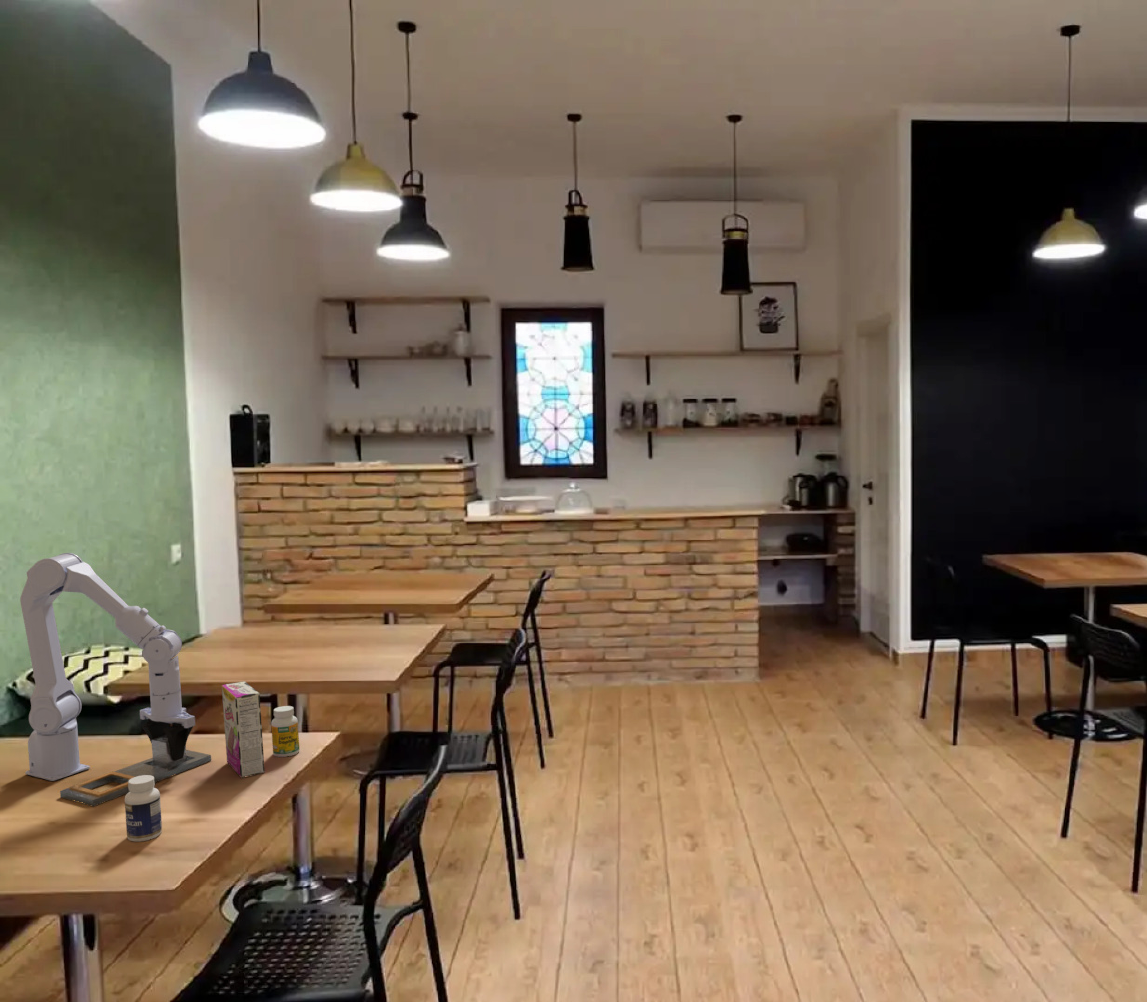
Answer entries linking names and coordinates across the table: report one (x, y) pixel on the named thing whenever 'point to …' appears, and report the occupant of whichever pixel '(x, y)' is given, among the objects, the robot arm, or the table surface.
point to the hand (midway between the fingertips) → (169, 757)
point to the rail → (122, 776)
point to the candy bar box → (243, 728)
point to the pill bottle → (143, 809)
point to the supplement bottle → (285, 732)
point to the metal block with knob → (164, 753)
